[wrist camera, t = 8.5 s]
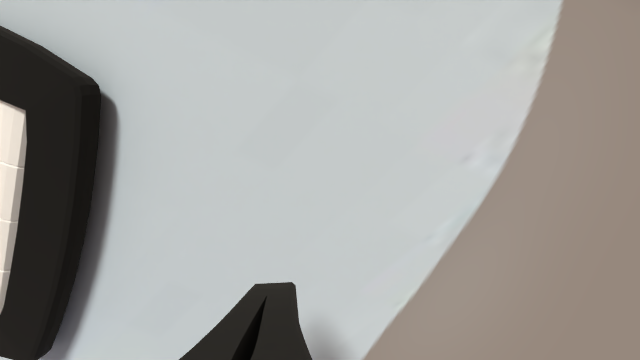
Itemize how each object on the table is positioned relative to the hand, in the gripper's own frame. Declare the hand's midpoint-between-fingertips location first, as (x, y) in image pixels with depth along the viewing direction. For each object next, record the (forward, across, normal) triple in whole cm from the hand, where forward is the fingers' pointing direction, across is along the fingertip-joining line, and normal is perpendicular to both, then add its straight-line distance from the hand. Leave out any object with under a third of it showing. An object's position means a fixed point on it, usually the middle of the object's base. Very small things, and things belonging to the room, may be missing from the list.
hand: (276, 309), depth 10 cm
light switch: (+9, +19, -2) cm, 21 cm away
